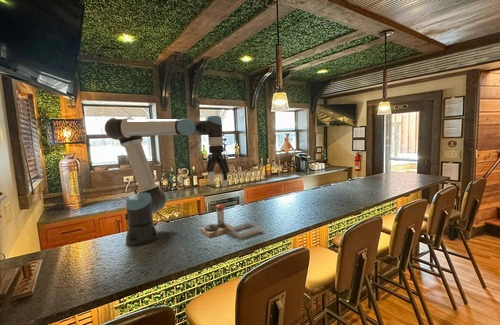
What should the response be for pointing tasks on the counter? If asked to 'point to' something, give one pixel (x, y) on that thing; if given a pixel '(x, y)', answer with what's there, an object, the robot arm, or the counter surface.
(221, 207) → the lock pin
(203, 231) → the tensioner block
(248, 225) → the tray
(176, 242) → the counter surface
